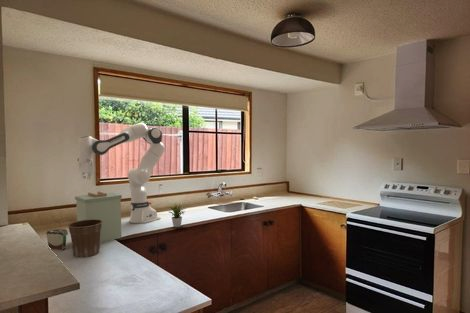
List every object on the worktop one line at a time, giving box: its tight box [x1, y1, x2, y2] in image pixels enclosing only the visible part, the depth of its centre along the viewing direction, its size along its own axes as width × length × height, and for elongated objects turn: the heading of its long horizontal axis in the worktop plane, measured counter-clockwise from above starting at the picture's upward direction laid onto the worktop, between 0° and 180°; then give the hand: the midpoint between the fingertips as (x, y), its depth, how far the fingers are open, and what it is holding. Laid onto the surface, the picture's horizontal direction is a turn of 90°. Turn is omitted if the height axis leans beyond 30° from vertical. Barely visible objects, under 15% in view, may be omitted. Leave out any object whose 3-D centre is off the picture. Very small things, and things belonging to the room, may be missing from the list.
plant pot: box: [67, 219, 102, 258], centre depth 160 cm, size 16×16×16 cm
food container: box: [45, 228, 69, 251], centre depth 169 cm, size 12×6×10 cm, turn 74°
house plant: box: [169, 202, 188, 228], centre depth 211 cm, size 14×14×16 cm
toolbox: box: [74, 190, 123, 243], centre depth 186 cm, size 21×17×28 cm
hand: (86, 178), depth 216 cm, fingers open, 8 cm apart
